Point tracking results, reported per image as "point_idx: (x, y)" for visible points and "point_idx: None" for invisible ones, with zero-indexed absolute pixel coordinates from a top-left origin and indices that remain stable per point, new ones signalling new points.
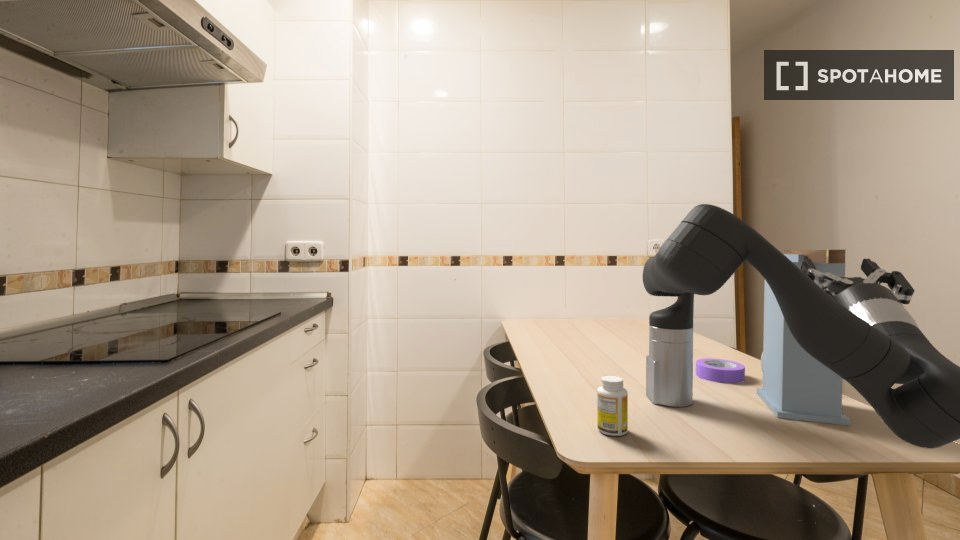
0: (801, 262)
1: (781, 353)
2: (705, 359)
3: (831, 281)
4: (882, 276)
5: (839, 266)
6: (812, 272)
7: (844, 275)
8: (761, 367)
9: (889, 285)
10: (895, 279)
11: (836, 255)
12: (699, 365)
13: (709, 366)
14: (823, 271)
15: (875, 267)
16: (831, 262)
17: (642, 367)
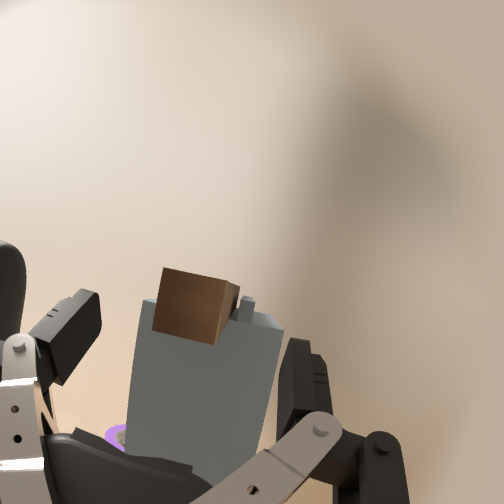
0: None
1: None
2: None
3: (242, 377)
4: (314, 468)
5: (268, 340)
6: (5, 355)
7: (274, 366)
8: None
9: (336, 493)
10: (364, 498)
11: (186, 301)
12: (105, 437)
13: (114, 443)
14: (228, 347)
15: (309, 398)
16: (162, 329)
17: (55, 413)
